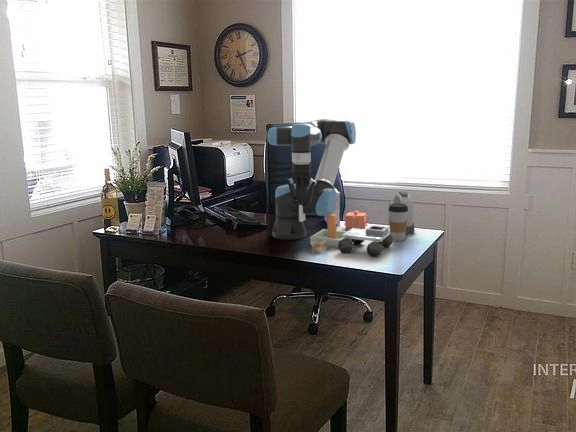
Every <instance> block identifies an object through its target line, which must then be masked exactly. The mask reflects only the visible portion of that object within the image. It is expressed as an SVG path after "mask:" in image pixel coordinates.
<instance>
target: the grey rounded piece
mask: <svg viewBox="0 0 576 432" xmlns="http://www.w3.org/2000/svg"><path fill="white" fill-rule="evenodd" d="M392 201H393V202H392V204H395V203H400V204H406V205H407V207H408V214H407V227H406V235H408V234H410V235H414V234H415V223H414V222H413V220H414V205H413V199H412V197H411V195H410V194H409V193H408V192H407V191H398V193H396V194H395V195H394V197H393V200H392ZM406 235H405V236H406ZM408 236H409V235H408Z"/></svg>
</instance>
